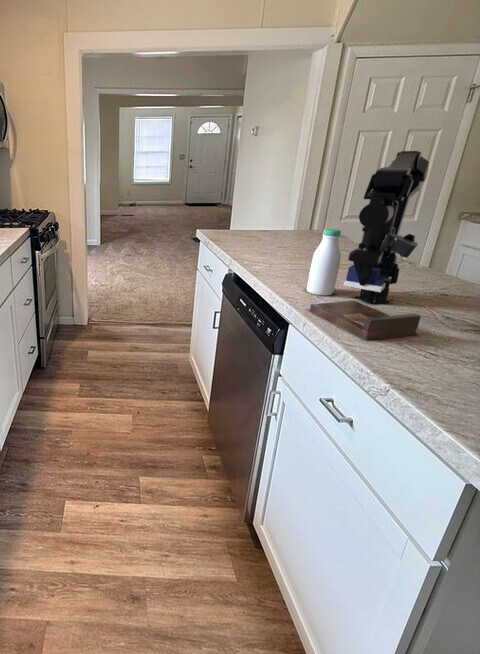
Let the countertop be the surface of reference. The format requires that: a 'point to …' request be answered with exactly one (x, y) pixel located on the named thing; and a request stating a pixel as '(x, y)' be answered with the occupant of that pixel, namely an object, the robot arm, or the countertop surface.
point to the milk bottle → (325, 264)
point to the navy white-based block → (372, 283)
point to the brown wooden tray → (366, 320)
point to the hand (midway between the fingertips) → (364, 283)
